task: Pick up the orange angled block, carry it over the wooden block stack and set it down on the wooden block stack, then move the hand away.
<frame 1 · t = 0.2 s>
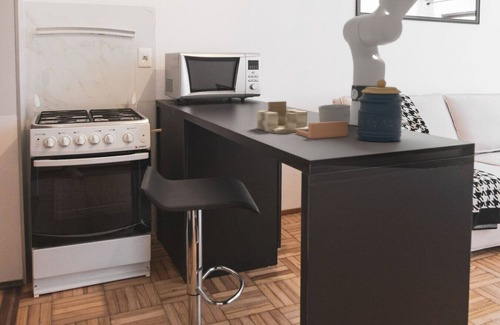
teacup: (333, 128, 171), on the table
orange angled block: (327, 136, 150), on the table
wooden block stack: (285, 129, 165), on the table
canister: (378, 139, 146), on the table
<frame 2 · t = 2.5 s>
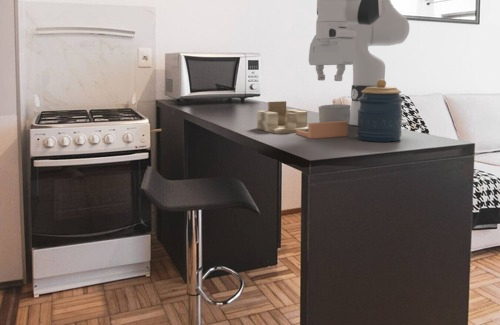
hand: (329, 80, 146), 17 cm above the table, fingers open, 8 cm apart
nothing on the table moved.
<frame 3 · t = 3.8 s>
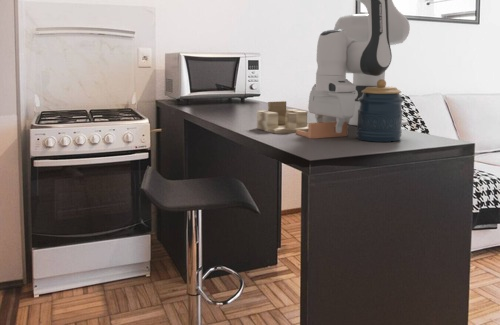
hand: (328, 130, 150), 2 cm above the table, fingers open, 8 cm apart
nothing on the table moved.
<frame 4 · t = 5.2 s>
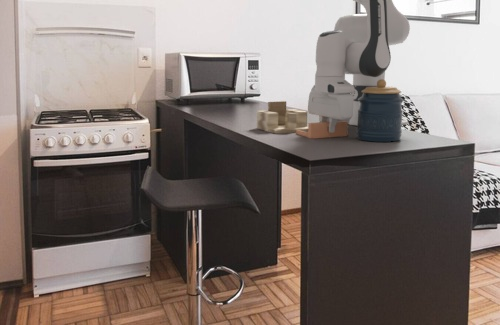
hand: (328, 131, 150), 2 cm above the table, fingers closed on orange angled block, 2 cm apart
orange angled block: (327, 136, 150), on the table, touching gripper
everything else where it was.
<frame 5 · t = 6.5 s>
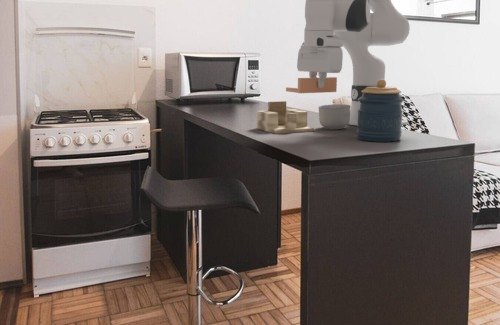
hand: (317, 87, 151), 15 cm above the table, fingers closed on orange angled block
orange angled block: (317, 92, 151), point 13 cm above the table, touching gripper
everything else where it was.
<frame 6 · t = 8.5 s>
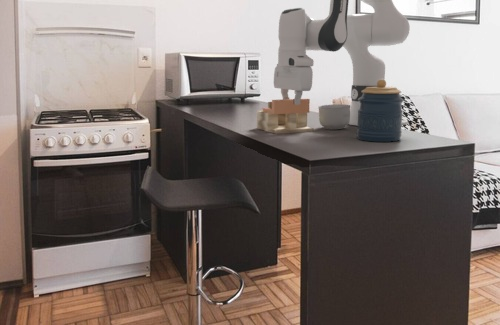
hand: (291, 103, 160), 9 cm above the table, fingers open, 6 cm apart
orange angled block: (290, 113, 161), point 6 cm above the table, touching wooden block stack
everything else where it was.
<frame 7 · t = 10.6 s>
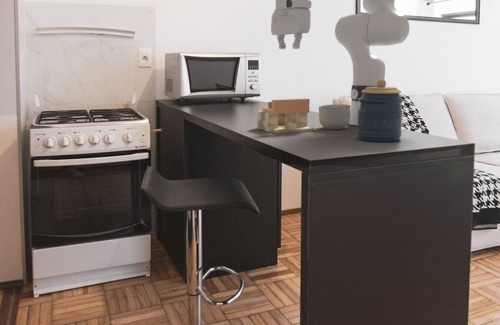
hand: (289, 48, 159), 27 cm above the table, fingers open, 8 cm apart
nothing on the table moved.
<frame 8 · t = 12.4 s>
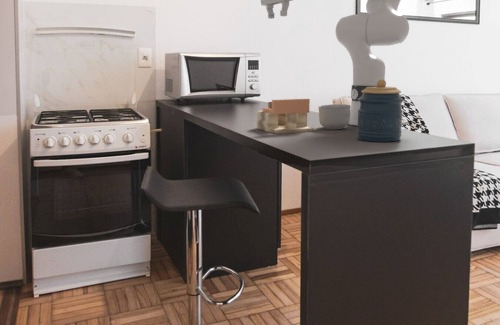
hand: (277, 17, 164), 37 cm above the table, fingers open, 8 cm apart
nothing on the table moved.
at the end: orange angled block 0.1 cm from the target spot, point 6.0 cm above the table; orange angled block tilted 0°; the gripper is holding nothing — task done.
